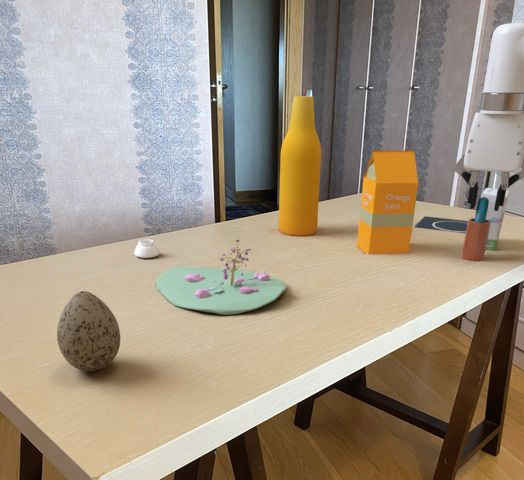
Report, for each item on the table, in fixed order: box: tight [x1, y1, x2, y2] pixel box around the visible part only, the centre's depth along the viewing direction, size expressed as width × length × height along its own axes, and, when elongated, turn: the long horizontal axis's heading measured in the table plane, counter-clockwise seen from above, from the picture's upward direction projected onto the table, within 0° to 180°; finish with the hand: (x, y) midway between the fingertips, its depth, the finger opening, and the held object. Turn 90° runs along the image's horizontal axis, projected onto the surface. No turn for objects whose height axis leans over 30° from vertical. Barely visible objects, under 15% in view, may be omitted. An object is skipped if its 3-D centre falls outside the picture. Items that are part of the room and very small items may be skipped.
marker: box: [474, 197, 489, 223], centre depth 104 cm, size 2×2×12 cm
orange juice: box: [356, 150, 420, 255], centre depth 108 cm, size 8×9×20 cm
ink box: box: [480, 187, 510, 252], centre depth 114 cm, size 8×5×12 cm, turn 154°
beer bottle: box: [277, 95, 323, 237], centre depth 119 cm, size 9×9×29 cm
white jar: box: [133, 238, 161, 259], centre depth 106 cm, size 5×3×5 cm
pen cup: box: [461, 217, 491, 262], centre depth 105 cm, size 4×4×8 cm
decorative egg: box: [56, 290, 121, 372], centre depth 63 cm, size 7×7×10 cm
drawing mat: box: [414, 215, 468, 235], centre depth 131 cm, size 18×16×1 cm
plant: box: [155, 239, 288, 316], centre depth 88 cm, size 25×21×9 cm
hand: (484, 207), depth 102 cm, fingers open, 3 cm apart
